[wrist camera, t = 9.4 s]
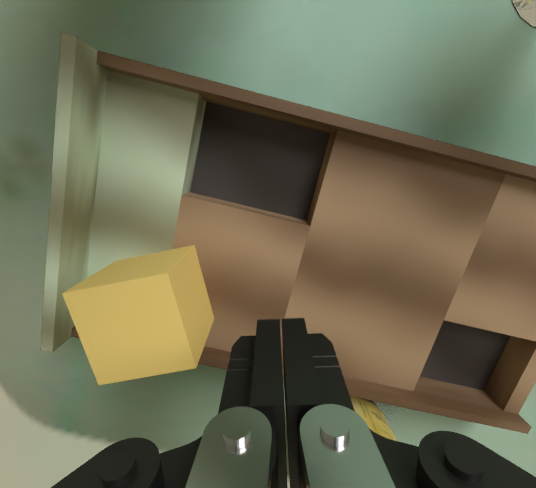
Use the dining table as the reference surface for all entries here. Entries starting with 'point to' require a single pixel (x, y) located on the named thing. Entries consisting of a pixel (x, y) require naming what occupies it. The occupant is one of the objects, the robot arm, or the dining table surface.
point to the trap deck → (302, 230)
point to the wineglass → (526, 10)
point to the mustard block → (143, 315)
